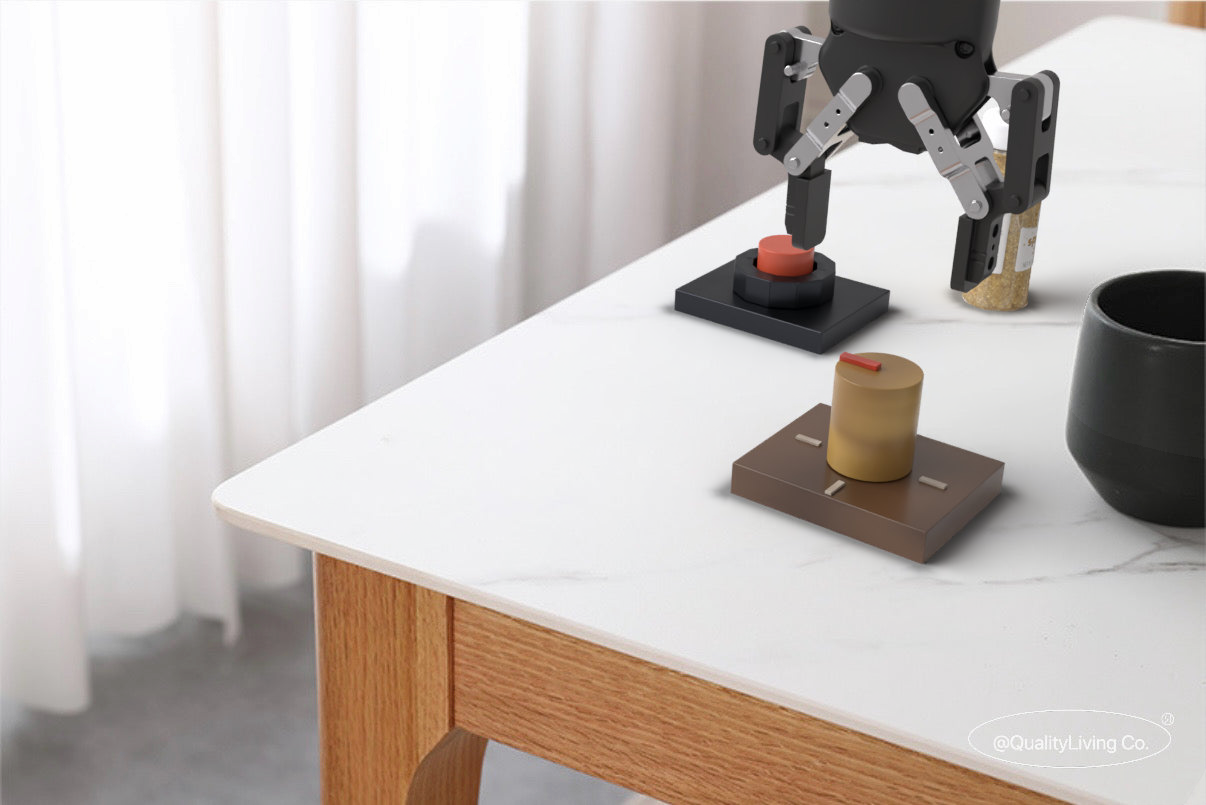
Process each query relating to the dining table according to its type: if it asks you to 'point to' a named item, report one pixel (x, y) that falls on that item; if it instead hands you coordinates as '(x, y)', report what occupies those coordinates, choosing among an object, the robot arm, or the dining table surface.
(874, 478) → the lock knob
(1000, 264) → the sprinkles bottle
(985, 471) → the lock plate
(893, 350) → the dining table surface
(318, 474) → the dining table surface
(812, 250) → the button
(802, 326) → the button block
